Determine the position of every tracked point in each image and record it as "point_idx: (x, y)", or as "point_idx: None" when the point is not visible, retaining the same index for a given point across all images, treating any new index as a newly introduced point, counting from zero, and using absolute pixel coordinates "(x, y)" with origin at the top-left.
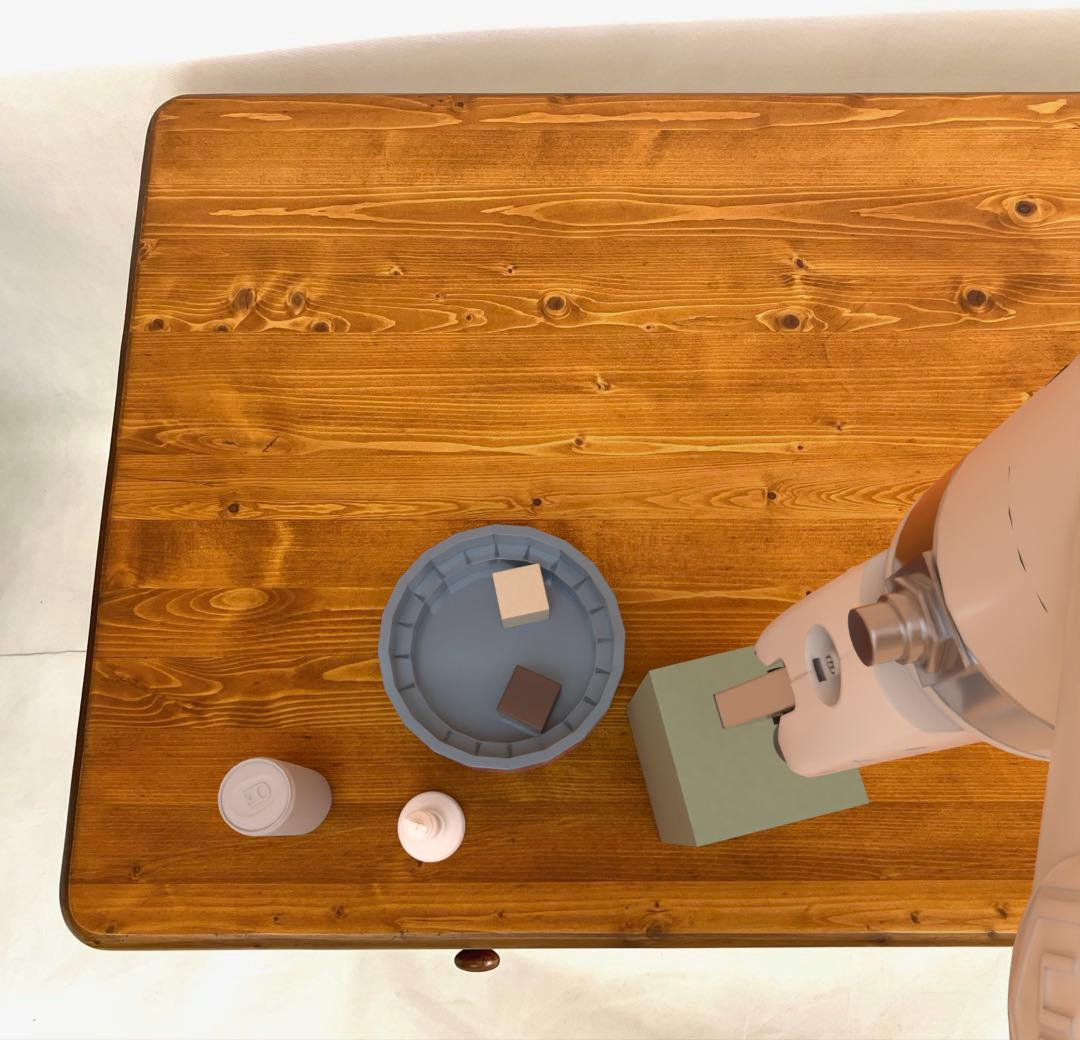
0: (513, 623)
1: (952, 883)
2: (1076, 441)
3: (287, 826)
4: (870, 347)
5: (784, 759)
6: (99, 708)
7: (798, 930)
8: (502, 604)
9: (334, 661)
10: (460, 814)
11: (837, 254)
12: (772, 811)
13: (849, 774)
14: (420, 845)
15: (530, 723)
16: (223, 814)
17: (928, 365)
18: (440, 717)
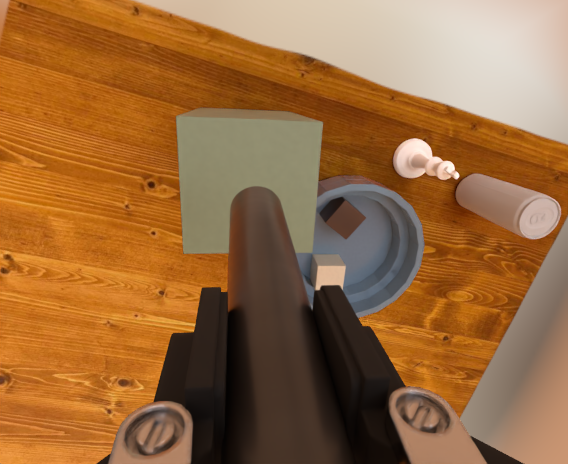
0: (335, 258)
1: (102, 25)
2: None
3: (518, 192)
4: (76, 362)
5: (279, 200)
6: (540, 259)
7: (218, 29)
8: (342, 273)
9: (427, 256)
10: (396, 161)
11: (84, 413)
12: (257, 131)
13: (186, 142)
14: (424, 150)
15: (350, 205)
16: (559, 212)
17: (40, 347)
18: (387, 215)
